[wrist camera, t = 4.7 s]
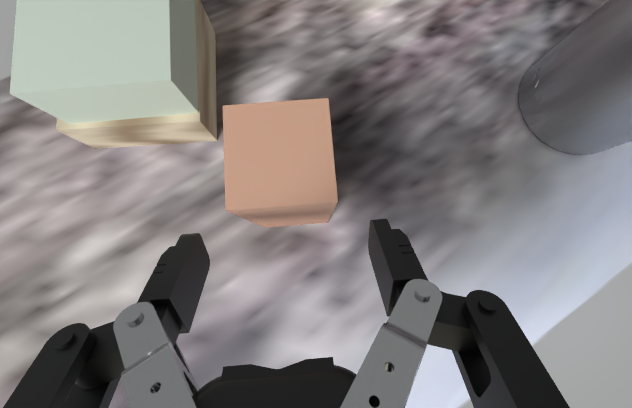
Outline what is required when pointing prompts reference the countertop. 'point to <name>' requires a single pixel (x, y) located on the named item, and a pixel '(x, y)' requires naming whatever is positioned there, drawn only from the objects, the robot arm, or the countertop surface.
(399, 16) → the countertop surface
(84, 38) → the tower top
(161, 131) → the tower base
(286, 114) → the square block
